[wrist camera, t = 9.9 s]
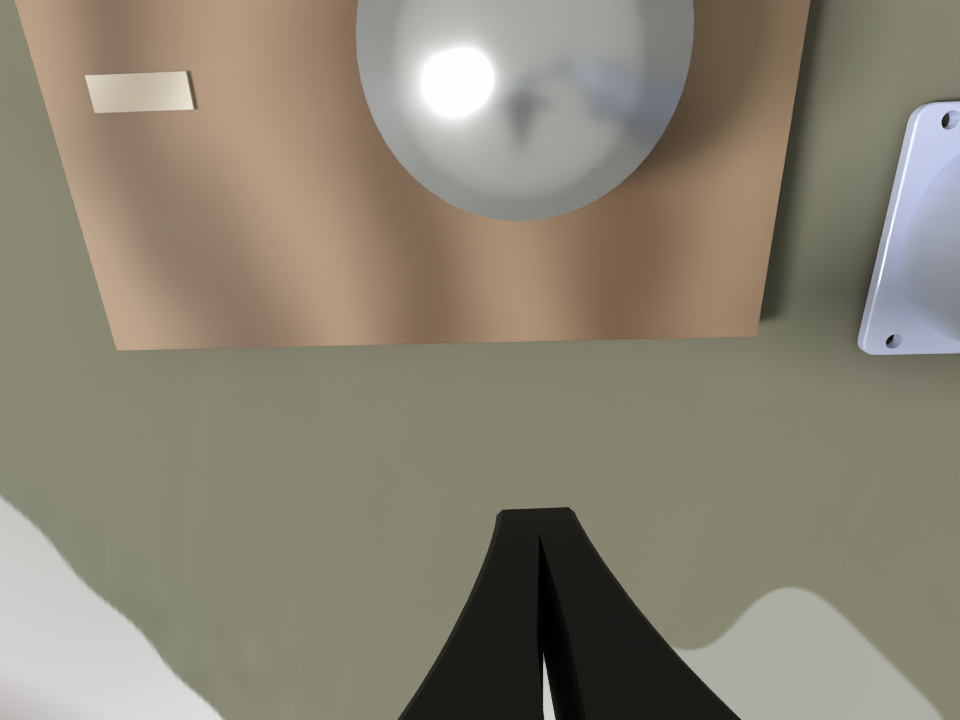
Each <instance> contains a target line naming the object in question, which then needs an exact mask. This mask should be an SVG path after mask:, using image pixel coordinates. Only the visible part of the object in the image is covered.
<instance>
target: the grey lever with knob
mask: <svg viewBox="0 0 960 720" xmlns="http://www.w3.org/2000/svg"><path fill="white" fill-rule="evenodd" d="M693 31H694V9H693V0H359V1H358V8H357V22H356V46H357V59H358V66H359V72H360V79H361V83H362V86H363V90H364V94H365V97H366V101H367V104H368V106H369V109H370V111H371V114H372V116H373V119H374V121H375V124H376V126H377V128H378V129H379V131H380V133H381V135H382V137H383V138H384V140H385V142H386V144H387V145H388V147H389V148H390V150H391V151H392V152H393V154H394V155H395V157H396V158H397V159H398V161H399V162H400V163H401V164H402V165H403V166H404V168H405V169H406V170H407V171H408V172H409V173H410V174H411V175H412V176H413V177H414V178H415V179H416V180H417V181H418V182H419V183H421V184H422V185H423V186H424V187H425V188H427V189H428V190H429V191H430V192H432V193H433V194H435V195H436V196H438V197H440V198H441V199H443V200H444V201H446V202H447V203H449V204H452V205H454V206H456V207H458V208H460V209H462V210H464V211H467V212H470V213H473V214H476V215H480V216H483V217H487V218H493V219H499V220H507V221H530V220H541V219H546V218H551V217H555V216H559V215H563V214H566V213H569V212H571V211H574V210H577V209H579V208H582V207H584V206H586V205H588V204H590V203H591V202H593V201H595V200H597V199H599V198H601V197H602V196H604V195H605V194H607V193H608V192H609V191H611V190H612V189H614V188H615V187H617V186H618V185H619V184H620V183H621V182H622V181H624V180H625V179H626V178H627V177H628V176H629V175H630V174H631V173H632V172H634V171H635V170H636V168H637V167H638V166H639V165H640V164H641V163H642V162H643V160H644V159H645V158H646V157H647V156H648V155H649V154H650V152H651V151H652V149H653V148H654V146H655V145H656V143H657V142H658V141H659V139H660V138H661V136H662V135H663V133H664V131H665V129H666V127H667V125H668V123H669V122H670V120H671V118H672V116H673V114H674V112H675V109H676V107H677V104H678V102H679V99H680V97H681V94H682V92H683V88H684V84H685V81H686V77H687V73H688V70H689V65H690V59H691V52H692V46H693Z"/></svg>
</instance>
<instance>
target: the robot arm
mask: <svg viewBox="0 0 960 720" xmlns="http://www.w3.org/2000/svg"><path fill="white" fill-rule="evenodd" d="M946 113H948V114H949V115H950V121H949V123H948V125H947V126H946V127H945V128H943V126H942V118H943V116H944V115H945V114H946ZM891 335H894V338H893V340H892V342H890V343H889V344H886V340H887V339H888V337H890V336H891ZM858 346H859V348H860V349H862V350H863V351H865V352H866V353H868V354H872V355H895V354H945V353H960V101H957V102H935V103H928V104H924V105H921V106H920V107H918V108H917V109H915V111H914V112H913V113H912V114H911V116H910V118H909V121H908V124H907V128H906V133H905V137H904V141H903V146H902V150H901V154H900V159H899V163H898V167H897V172H896V176H895V180H894V185H893V189H892V193H891V198H890V202H889V206H888V210H887V215H886V219H885V223H884V228H883V232H882V236H881V241H880V245H879V249H878V254H877V258H876V262H875V267H874V271H873V275H872V280H871V284H870V288H869V292H868V297H867V301H866V305H865V310H864V314H863V318H862V323H861V327H860V331H859V336H858ZM543 652H544V658H545V664H546V669H547V675H548V680H549V686H550V691H551V697H552V703H553V708H554V714H555V719H556V720H741V719H740V718H739V717H738V716H737V715H736V714H735V713H734V712H733V711H732V710H731V709H730V708H729V707H728V706H727V705H726V704H725V703H724V702H723V701H721V700H720V698H719V697H717V695H716V694H715V693H714V692H713V691H712V690H710V688H709V687H708V686H707V685H706V684H705V683H704V682H703V681H702V680H701V679H700V678H699V677H698V676H697V675H696V674H695V673H694V672H693V671H692V670H691V669H690V668H689V667H688V666H687V664H686V663H685V662H684V661H682V659H681V658H680V657H679V656H678V655H677V653H676V652H675V651H674V650H673V649H672V648H671V647H670V646H669V644H668V643H667V642H666V641H665V640H664V639H663V638H662V636H661V635H660V634H659V633H658V632H657V631H656V629H655V628H654V627H653V626H652V624H651V623H650V622H649V621H648V620H647V618H646V617H645V616H644V615H643V614H642V612H641V611H640V610H639V609H638V607H637V606H636V605H635V604H634V602H633V601H632V600H631V598H630V597H629V596H628V594H627V593H626V592H625V590H624V589H623V588H622V586H621V585H620V584H619V582H618V581H617V579H616V578H615V577H614V575H613V574H612V573H611V571H610V570H609V568H608V567H607V566H606V564H605V563H604V561H603V560H602V558H601V557H600V555H599V554H598V552H597V551H596V549H595V548H594V546H593V544H592V543H591V541H590V540H589V538H588V536H587V535H586V533H585V531H584V530H583V528H582V526H581V524H580V522H579V521H578V519H577V517H576V515H575V512H573V511H572V510H571V509H570V508H569V507H561V508H536V509H510V510H502V511H501V512H500V513H499V514H498V515H497V517H496V524H495V528H494V532H493V536H492V540H491V543H490V546H489V549H488V552H487V554H486V557H485V560H484V563H483V565H482V568H481V570H480V572H479V575H478V577H477V580H476V582H475V584H474V587H473V589H472V592H471V594H470V596H469V598H468V600H467V602H466V604H465V606H464V608H463V610H462V612H461V614H460V616H459V618H458V620H457V622H456V624H455V626H454V628H453V630H452V632H451V634H450V636H449V638H448V640H447V641H446V643H445V645H444V647H443V649H442V650H441V652H440V654H439V656H438V657H437V659H436V661H435V663H434V664H433V666H432V668H431V669H430V671H429V672H428V674H427V676H426V677H425V679H424V681H423V682H422V684H421V685H420V687H419V689H418V690H417V692H416V693H415V695H414V696H413V698H412V699H411V701H410V702H409V704H408V705H407V707H406V708H405V710H404V711H403V712H402V714H401V715H400V717H399V718H398V720H544V713H543Z"/></svg>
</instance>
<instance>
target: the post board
mask: <svg viewBox="0 0 960 720" xmlns="http://www.w3.org/2000/svg"><path fill="white" fill-rule="evenodd" d="M358 1H359V0H15V2H16V5H17V9H18V12H19V16H20V19H21V23H22V26H23V29H24V33H25V36H26V40H27V43H28V47H29V50H30V53H31V57H32V60H33V64H34V67H35V71H36V74H37V77H38V81H39V84H40V88H41V91H42V95H43V98H44V102H45V105H46V108H47V112H48V115H49V119H50V122H51V126H52V129H53V132H54V136H55V139H56V143H57V146H58V150H59V153H60V156H61V160H62V163H63V167H64V170H65V174H66V177H67V180H68V184H69V187H70V191H71V194H72V198H73V201H74V205H75V208H76V211H77V215H78V218H79V222H80V225H81V229H82V232H83V235H84V239H85V242H86V246H87V249H88V253H89V256H90V259H91V263H92V266H93V270H94V273H95V277H96V280H97V283H98V287H99V290H100V294H101V297H102V301H103V304H104V308H105V311H106V314H107V318H108V321H109V325H110V328H111V332H112V335H113V338H114V342H115V345H116V349H117V350H151V349H198V348H244V347H290V346H337V345H383V344H430V343H476V342H523V341H569V340H616V339H662V338H709V337H755V336H757V331H758V325H759V318H760V312H761V306H762V300H763V293H764V287H765V281H766V275H767V269H768V262H769V256H770V250H771V244H772V237H773V231H774V225H775V219H776V212H777V206H778V200H779V194H780V187H781V181H782V175H783V169H784V163H785V156H786V150H787V144H788V138H789V131H790V125H791V119H792V113H793V106H794V100H795V94H796V88H797V81H798V75H799V69H800V63H801V57H802V50H803V44H804V38H805V32H806V25H807V19H808V13H809V7H810V0H693V9H694V31H693V46H692V52H691V59H690V65H689V70H688V73H687V77H686V81H685V84H684V88H683V92H682V94H681V97H680V99H679V102H678V104H677V107H676V109H675V112H674V114H673V116H672V118H671V120H670V122H669V123H668V125H667V127H666V129H665V131H664V133H663V135H662V136H661V138H660V139H659V141H658V142H657V143H656V145H655V146H654V148H653V149H652V151H651V152H650V154H649V155H648V156H647V157H646V158H645V159H644V160H643V162H642V163H641V164H640V165H639V166H638V167H637V168H636V170H635V171H634V172H632V173H631V174H630V175H629V176H628V177H627V178H626V179H625V180H624V181H622V182H621V183H620V184H619V185H618V186H617V187H615V188H614V189H612V190H611V191H609V192H608V193H607V194H605V195H604V196H602V197H601V198H599V199H597V200H595V201H593V202H591V203H590V204H588V205H586V206H584V207H582V208H579V209H577V210H574V211H571V212H569V213H566V214H563V215H559V216H555V217H551V218H546V219H541V220H530V221H507V220H499V219H493V218H487V217H483V216H480V215H476V214H473V213H470V212H467V211H464V210H462V209H460V208H458V207H456V206H454V205H452V204H449V203H447V202H446V201H444V200H443V199H441V198H440V197H438V196H436V195H435V194H433V193H432V192H430V191H429V190H428V189H427V188H425V187H424V186H423V185H422V184H421V183H419V182H418V181H417V180H416V179H415V178H414V177H413V176H412V175H411V174H410V173H409V172H408V171H407V170H406V169H405V168H404V166H403V165H402V164H401V163H400V162H399V161H398V159H397V158H396V157H395V155H394V154H393V152H392V151H391V150H390V148H389V147H388V145H387V144H386V142H385V140H384V138H383V137H382V135H381V133H380V131H379V129H378V128H377V126H376V124H375V121H374V119H373V116H372V114H371V111H370V109H369V106H368V104H367V101H366V97H365V94H364V90H363V86H362V83H361V79H360V72H359V66H358V59H357V46H356V22H357V8H358Z"/></svg>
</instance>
